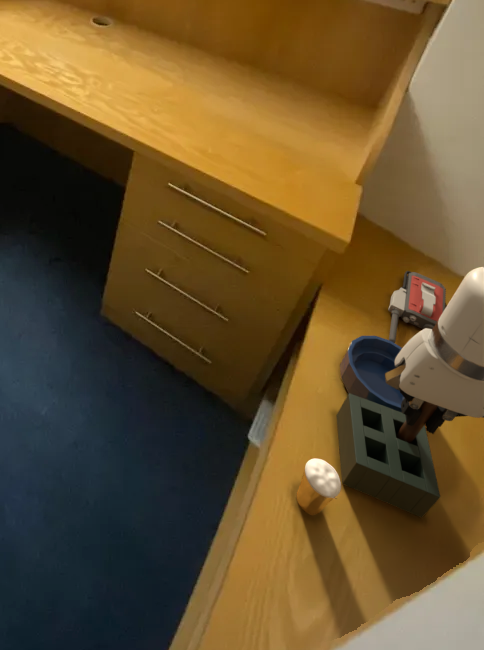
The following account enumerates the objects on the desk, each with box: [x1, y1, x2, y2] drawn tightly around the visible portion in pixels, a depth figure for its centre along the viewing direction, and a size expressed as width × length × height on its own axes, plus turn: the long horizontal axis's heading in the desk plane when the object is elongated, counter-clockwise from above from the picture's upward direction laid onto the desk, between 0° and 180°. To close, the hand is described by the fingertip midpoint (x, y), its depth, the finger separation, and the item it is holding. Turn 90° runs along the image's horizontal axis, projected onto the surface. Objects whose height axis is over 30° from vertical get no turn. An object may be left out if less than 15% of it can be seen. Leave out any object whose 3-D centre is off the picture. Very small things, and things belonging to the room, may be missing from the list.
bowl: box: [339, 335, 404, 413], centre depth 88 cm, size 12×12×6 cm
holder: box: [336, 393, 441, 518], centre depth 78 cm, size 10×10×7 cm
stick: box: [396, 401, 438, 444], centre depth 77 cm, size 2×2×15 cm
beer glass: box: [295, 457, 342, 516], centre depth 73 cm, size 5×5×10 cm
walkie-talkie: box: [388, 270, 447, 344], centre depth 100 cm, size 9×4×20 cm
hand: (417, 418), depth 75 cm, fingers closed on stick, 2 cm apart
